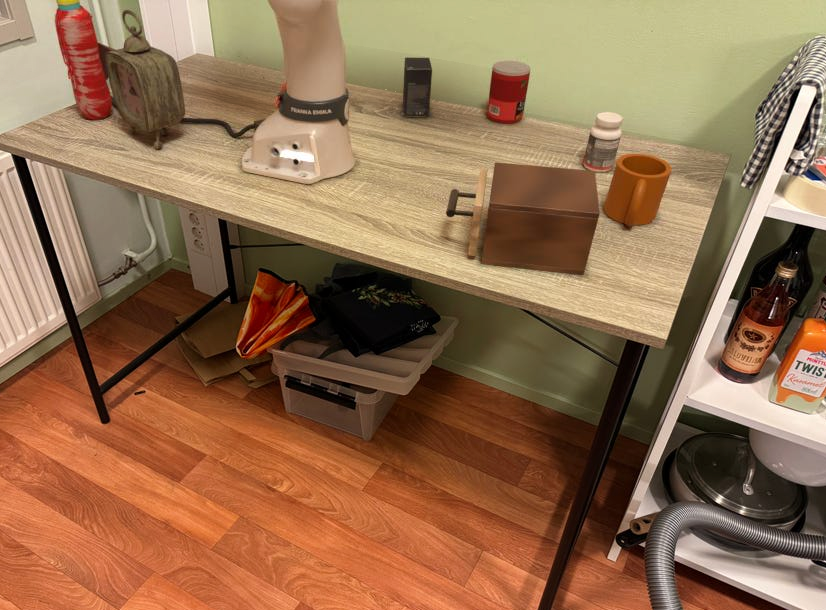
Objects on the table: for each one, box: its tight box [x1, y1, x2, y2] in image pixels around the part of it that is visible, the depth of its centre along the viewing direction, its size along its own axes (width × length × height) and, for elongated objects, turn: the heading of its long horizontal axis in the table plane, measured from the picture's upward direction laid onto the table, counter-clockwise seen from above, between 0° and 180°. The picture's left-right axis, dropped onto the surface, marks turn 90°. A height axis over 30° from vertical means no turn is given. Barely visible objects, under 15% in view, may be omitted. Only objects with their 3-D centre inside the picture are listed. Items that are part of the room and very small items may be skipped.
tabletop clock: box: [105, 9, 186, 150], centre depth 137 cm, size 14×9×25 cm, turn 42°
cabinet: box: [480, 161, 601, 276], centre depth 108 cm, size 16×14×11 cm
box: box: [402, 57, 433, 118], centre depth 151 cm, size 8×6×11 cm
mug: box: [603, 153, 673, 228], centre depth 116 cm, size 9×12×9 cm
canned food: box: [486, 60, 531, 125], centre depth 148 cm, size 8×8×11 cm
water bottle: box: [54, 0, 116, 121], centre depth 147 cm, size 12×8×25 cm, turn 145°
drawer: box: [445, 167, 489, 257], centre depth 109 cm, size 19×13×9 cm, turn 78°
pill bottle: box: [582, 111, 623, 173], centre depth 130 cm, size 6×6×10 cm
